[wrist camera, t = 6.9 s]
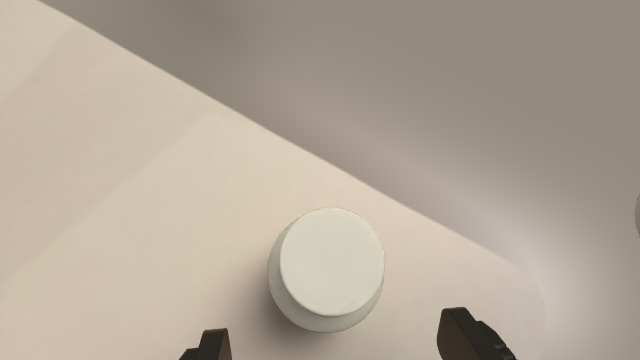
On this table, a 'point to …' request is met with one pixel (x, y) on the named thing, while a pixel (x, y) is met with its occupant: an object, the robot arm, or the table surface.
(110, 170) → the table surface
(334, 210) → the supplement bottle
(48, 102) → the table surface
